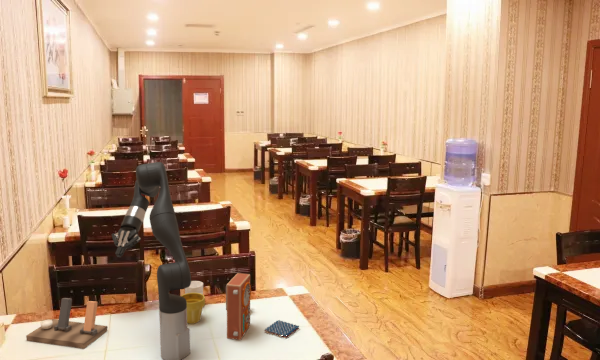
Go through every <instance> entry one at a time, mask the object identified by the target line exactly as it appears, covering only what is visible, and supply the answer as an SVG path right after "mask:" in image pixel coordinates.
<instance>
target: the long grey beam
mask: <svg viewBox="0 0 600 360" xmlns="http://www.w3.org/2000/svg"><path fill="white" fill-rule="evenodd" d="M72 304H73V299H72V298H70V297H69V298H68V297H63V298H61V301H60V309H59V314H58V315H59V316H58V320H59V321H58V329H60V330H65V328H66V327H67V326H68V325H69V321H70V318H71V317H70V316H71V311H72V310H71V309H72Z"/></svg>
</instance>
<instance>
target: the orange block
mask: <svg viewBox="0 0 600 360" xmlns="http://www.w3.org/2000/svg"><path fill="white" fill-rule="evenodd" d="M97 310H98V301H95V300H94V301H92V300H89V301H87V302H86V309H85V317H84V322H83V323H84V330H83V332H84V333H89V334H91V331H92V330H94V326H95V325H96V317H97Z"/></svg>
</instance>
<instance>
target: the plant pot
mask: <svg viewBox="0 0 600 360" xmlns="http://www.w3.org/2000/svg"><path fill="white" fill-rule="evenodd" d="M180 296H182V297H184V298H185V299H186V301H187V325H188V324H190V325H192V324H193V325H194V324H196V323H199V322H200V321H201V319H202V315H203V313H202V312H203V308H204V306H205V304H206V297H205V295H204V293H203V294H200V293H186V294H185V293H184V294H181V295H180Z"/></svg>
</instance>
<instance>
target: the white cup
mask: <svg viewBox="0 0 600 360" xmlns="http://www.w3.org/2000/svg"><path fill="white" fill-rule="evenodd" d="M186 293H200V294H203V295H204V282H202V281H200V280H191V284H190V286H189V287H187V288H184V294H186Z"/></svg>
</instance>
